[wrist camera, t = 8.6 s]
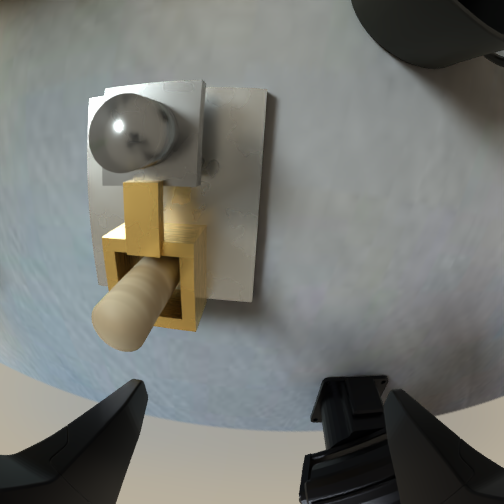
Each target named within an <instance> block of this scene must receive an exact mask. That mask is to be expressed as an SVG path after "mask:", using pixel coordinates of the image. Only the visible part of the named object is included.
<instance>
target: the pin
mask: <svg viewBox="0 0 504 504" xmlns="http://www.w3.org/2000/svg"><path fill="white" fill-rule="evenodd" d="M179 282H180V263H179V257H171V256H161V257H160V258H157V257H146V256H144V257H143V258H142V259H141V260H140V261H139V262H138V263H137V264H136V265H135V266H134V267H133V268H132V269H131V270H130V271H129V272H128V273H127V274H126V275H125V276H124V277H123V278H122V279H121V280H120V281H119V282H118V283H117V284H116V285H115V286H114V287H113V288H112V289H111V290H110V291H109V292H108V293H107V294H106V295H105V296H104V297H103V298H102V299H101V300H100V302H99V303H98V304H97V305H96V306H95V307H94V309H93V311H92V323H93V326H94V329H95V331H96V332H97V334H98V335H99V337H100V338H101V339H102V340H103V341H104V342H105V343H107V344H108V345H109V346H111V347H113V348H115V349H117V350H120V351H125V352H132V351H135V350H137V349H139V348H140V347H141V346H142V345H143V343H144V341H145V340H146V338H147V336H148V334H149V333H150V331H151V329H152V327H153V326H154V324H155V322H156V321H157V319H158V317H159V315H160V314H161V312H162V310H163V309H164V307H165V305H166V303H167V302H168V300H169V298H170V297H171V295H172V293H173V292H174V290H175V288H176V287H177V285H178V283H179Z"/></svg>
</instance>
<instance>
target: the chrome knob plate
mask: <svg viewBox="0 0 504 504" xmlns="http://www.w3.org/2000/svg"><path fill="white" fill-rule="evenodd" d="M266 101H267V89H257V88H230V87H206V83H205V82H204V81H203V80H184V81H168V82H156V83H145V84H137V85H129V86H121V87H115V88H108V89H105V96H102V97H96V98H90V101H89V115H88V141H87V169H88V196H89V211H90V223H91V233H92V242H93V250H94V258H95V265H96V271H97V277H98V283H99V285H102V286H108V289H109V291H110V290H111V289H112V288H113V287H114V286H115V285H116V284H117V283H118V282H119V281H120V280H121V279H122V278H123V277H124V276H125V275H126V274H127V273H128V272H129V271H130V270H131V269H132V268H133V267H134V266H135V265H136V264H137V263H138V262H139V261H140V260H141V259H142V258H143V257H144V256H146V257H157V258H160V257H161V256H171V257H179V263H180V282H179V283H178V285H177V287H176V288H175V290H174V292H173V293H172V295H171V297H170V298H169V300H168V302H167V303H166V305H165V307H164V309H163V310H162V312H161V314H160V315H159V317H158V319H157V321H156V322H155V324H154V326H157V327H164V328H171V329H178V330H186V331H194V332H196V330H197V327H198V325H199V322H200V319H201V316H202V313H203V310H204V308H205V305H206V302H207V298H208V299H219V300H230V301H242V302H252V297H253V283H254V270H255V256H256V243H257V229H258V215H259V201H260V187H261V173H262V159H263V144H264V130H265V115H266Z"/></svg>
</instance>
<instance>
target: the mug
mask: <svg viewBox="0 0 504 504" xmlns="http://www.w3.org/2000/svg"><path fill="white" fill-rule="evenodd" d="M351 1H352V5H353V8H354V11H355V13H356V15H357V17H358V19H359V21H360V22H361V24H362V25H363V27H364V28H365V29H366V31H367V32H368V33H369V34H370V35H371V36H372V37H373V39H374V40H376V41H377V42H378V43H379V44H380V45H381V46H382V47H383V48H385V49H386V50H387V51H389V52H390V53H392V54H393V55H395V56H396V57H398V58H400V59H402V60H404V61H406V62H408V63H411V64H414V65H417V66H420V67H424V68H433V69H436V68H443V67H446V66H450V65H453V64H456V63H459V62H462V61H465V60H469V59H472V58H476V57H479V56H484V57H486V58H487V59H488V60H490V61H492V62H493V63H495V64H497V65H499V66H502V67H504V57H502V56H500V55H498V54H496V53H494V52H498V51H502V50H504V0H351Z"/></svg>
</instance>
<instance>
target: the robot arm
mask: <svg viewBox="0 0 504 504" xmlns="http://www.w3.org/2000/svg"><path fill="white" fill-rule="evenodd" d="M387 383H388V378H387V376H370V377H341V378H325V379H324V380H323V381H322V384H321V387H320V390H319V393H318V396H317V399H316V402H315V405H314V408H313V411H312V414H311V417H310V419H311V422H322V425H323V432H324V438H325V446H326V450H324V451H321V452H318V453H314V454H308V455H305V458H304V463H303V470H302V477H301V485H300V491H299V497H300V498H299V502H300V503H301V504H504V468H503V467H501V466H499V465H498V464H496V463H495V462H493V461H491V460H490V459H488V458H487V457H485V456H484V455H482V454H481V453H479V452H478V451H476V450H475V449H474V448H472V447H471V446H470V445H468V444H467V443H466V442H465V441H464V440H462V439H460V437H458V436H457V435H456V434H455V433H454V432H453V431H451V430H450V429H449V428H448V427H447V426H445V425H444V424H443V423H442V422H441V421H439V420H438V419H437V418H436V417H435V416H433V415H432V414H431V413H430V412H429V411H427V410H426V409H425V408H424V407H423V406H421V405H420V404H419V403H418V402H417V401H415V400H414V399H413V398H412V397H411V396H410V395H408V394H407V393H406V392H405V391H404V390H402V389H394V390H391V391H390V393H389V395H388V397H387V399H386V401H385V404H384V405H383V402H382V400H381V395H382V393H383V391H384V389H385V387H386V385H387ZM147 402H148V394H147V391H146V388H145V384H144V382H143V381H142V380H137V379H132V380H130V381H129V382H127V383H126V384H125V385H123V386H122V387H121V388H119V389H118V390H116V391H115V392H114V393H112V394H111V395H109V396H108V397H107V398H105V399H104V400H102V401H101V402H100V403H98V404H97V405H95V406H94V407H93V408H91V409H90V410H88V411H87V412H85V413H84V414H83V415H81V416H80V417H78V418H77V419H75V420H74V421H73V422H71V423H70V424H68V425H67V426H66V427H64V428H62V429H61V430H59V431H58V432H56V433H55V434H53V435H52V436H50V437H48V438H46V439H44V440H43V441H41V442H39V443H37V444H35V445H33V446H31V447H29V448H27V449H25V450H23V451H21V452H18V453H16V454H12V455H0V504H116V501H117V498H118V495H119V492H120V489H121V486H122V483H123V480H124V477H125V474H126V471H127V469H128V466H129V463H130V460H131V457H132V455H133V452H134V449H135V446H136V443H137V441H138V438H139V435H140V431H141V427H142V423H143V418H144V414H145V410H146V406H147Z"/></svg>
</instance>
